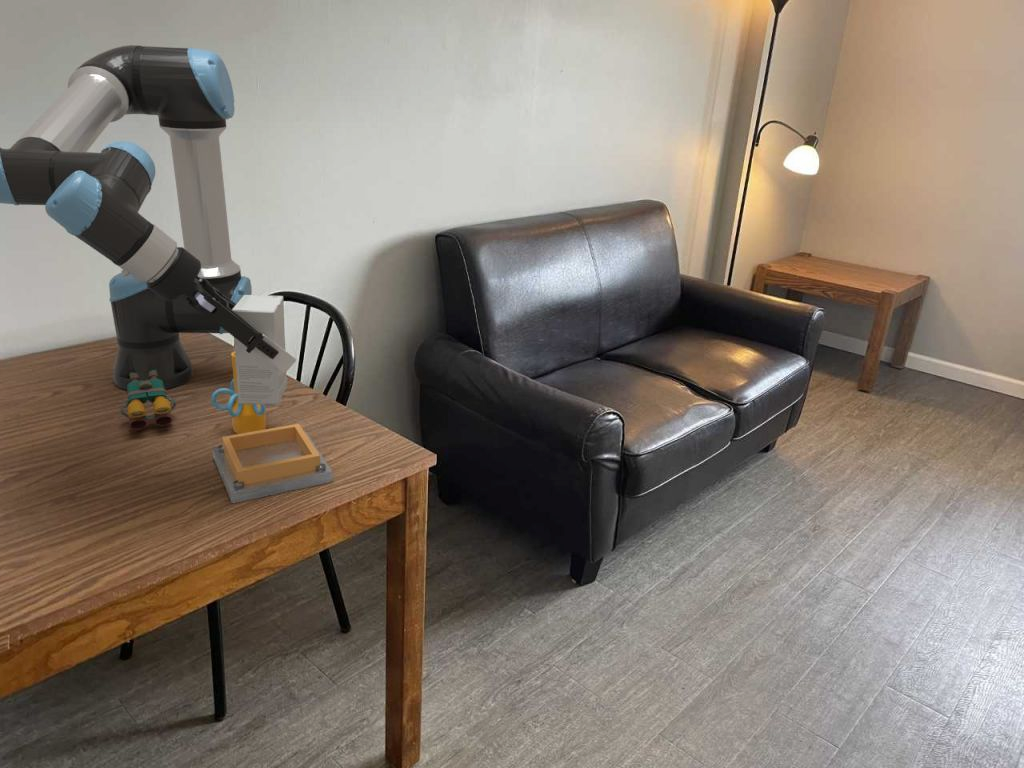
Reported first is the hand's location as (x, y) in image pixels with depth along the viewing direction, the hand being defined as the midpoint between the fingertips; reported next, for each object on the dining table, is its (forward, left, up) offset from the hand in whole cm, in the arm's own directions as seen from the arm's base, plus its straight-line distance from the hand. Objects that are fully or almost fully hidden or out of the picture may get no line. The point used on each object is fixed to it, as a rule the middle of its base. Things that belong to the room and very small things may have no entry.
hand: (282, 354), depth 120 cm
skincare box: (0, -3, -7) cm, 7 cm away
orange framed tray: (0, -3, -20) cm, 21 cm away
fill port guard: (0, -3, -18) cm, 19 cm away
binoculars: (-25, -19, -21) cm, 38 cm away
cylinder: (-17, -3, -21) cm, 27 cm away
